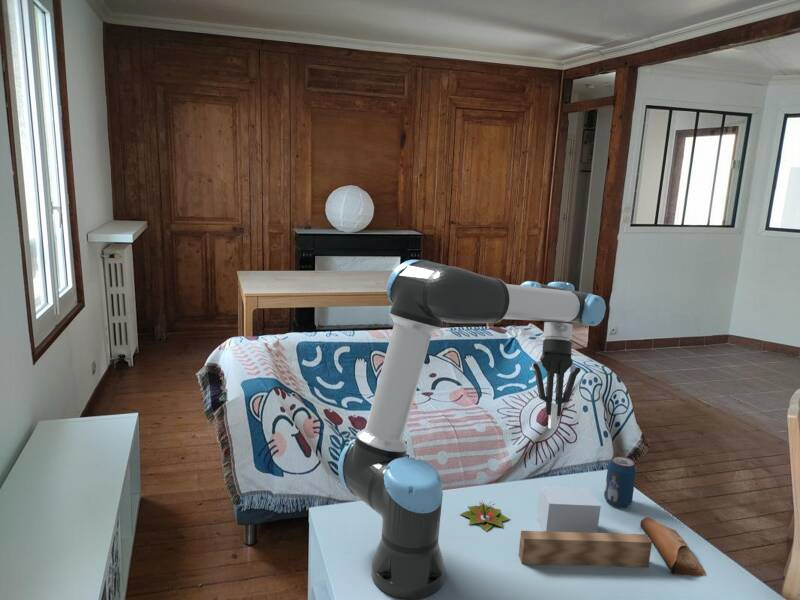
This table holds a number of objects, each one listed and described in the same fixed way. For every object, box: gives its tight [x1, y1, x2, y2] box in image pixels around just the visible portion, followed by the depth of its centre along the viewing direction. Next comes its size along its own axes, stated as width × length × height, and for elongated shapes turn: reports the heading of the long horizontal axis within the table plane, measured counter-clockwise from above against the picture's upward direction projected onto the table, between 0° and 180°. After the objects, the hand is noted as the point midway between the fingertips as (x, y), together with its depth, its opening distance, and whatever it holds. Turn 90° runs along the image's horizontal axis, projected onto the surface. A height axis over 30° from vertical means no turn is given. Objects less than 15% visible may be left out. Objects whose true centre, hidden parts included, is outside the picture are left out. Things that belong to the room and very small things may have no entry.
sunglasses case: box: [640, 516, 707, 577], centre depth 132 cm, size 18×7×7 cm, turn 178°
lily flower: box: [460, 500, 511, 532], centre depth 141 cm, size 12×12×5 cm
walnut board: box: [518, 530, 653, 568], centre depth 126 cm, size 28×3×6 cm, turn 92°
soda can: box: [603, 455, 637, 509], centre depth 150 cm, size 7×7×12 cm
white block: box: [536, 485, 602, 533], centre depth 137 cm, size 12×8×9 cm, turn 91°
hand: (552, 428), depth 151 cm, fingers closed
